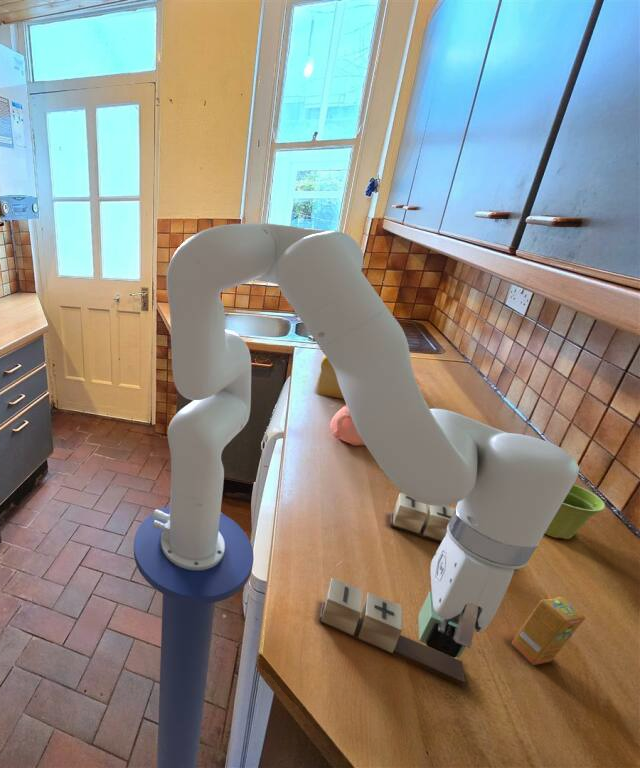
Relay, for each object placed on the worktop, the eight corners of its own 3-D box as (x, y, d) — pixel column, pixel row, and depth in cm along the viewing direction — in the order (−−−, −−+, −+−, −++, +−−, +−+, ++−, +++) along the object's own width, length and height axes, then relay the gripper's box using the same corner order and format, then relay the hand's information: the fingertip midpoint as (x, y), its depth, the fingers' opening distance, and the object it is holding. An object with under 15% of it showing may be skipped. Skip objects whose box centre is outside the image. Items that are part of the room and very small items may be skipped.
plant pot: (527, 505, 86) (544, 472, 83) (589, 533, 79) (611, 497, 75) (511, 523, 82) (528, 489, 78) (576, 554, 74) (598, 518, 71)
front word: (318, 624, 63) (325, 597, 60) (322, 602, 66) (329, 576, 64) (463, 691, 54) (478, 662, 52) (459, 661, 57) (474, 633, 55)
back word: (389, 528, 81) (397, 504, 78) (390, 514, 84) (398, 491, 82) (507, 566, 72) (520, 541, 70) (502, 549, 76) (515, 524, 73)
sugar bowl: (388, 443, 109) (399, 410, 104) (350, 455, 104) (359, 421, 99) (350, 422, 119) (357, 391, 115) (313, 432, 114) (320, 400, 110)
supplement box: (534, 668, 57) (566, 620, 52) (510, 643, 60) (537, 597, 56) (554, 663, 57) (587, 616, 53) (529, 640, 60) (558, 593, 56)
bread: (323, 369, 156) (330, 332, 150) (360, 375, 150) (370, 337, 144) (314, 393, 137) (323, 351, 131) (357, 401, 131) (368, 358, 125)
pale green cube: (419, 641, 55) (431, 616, 53) (418, 615, 58) (429, 590, 56) (459, 658, 53) (473, 633, 51) (455, 630, 56) (469, 606, 54)
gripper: (445, 483, 56) (406, 576, 64) (458, 571, 43) (407, 674, 51) (516, 503, 52) (465, 599, 60) (553, 605, 39) (482, 711, 47)
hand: (439, 632), depth 55 cm, fingers closed on pale green cube, 4 cm apart
